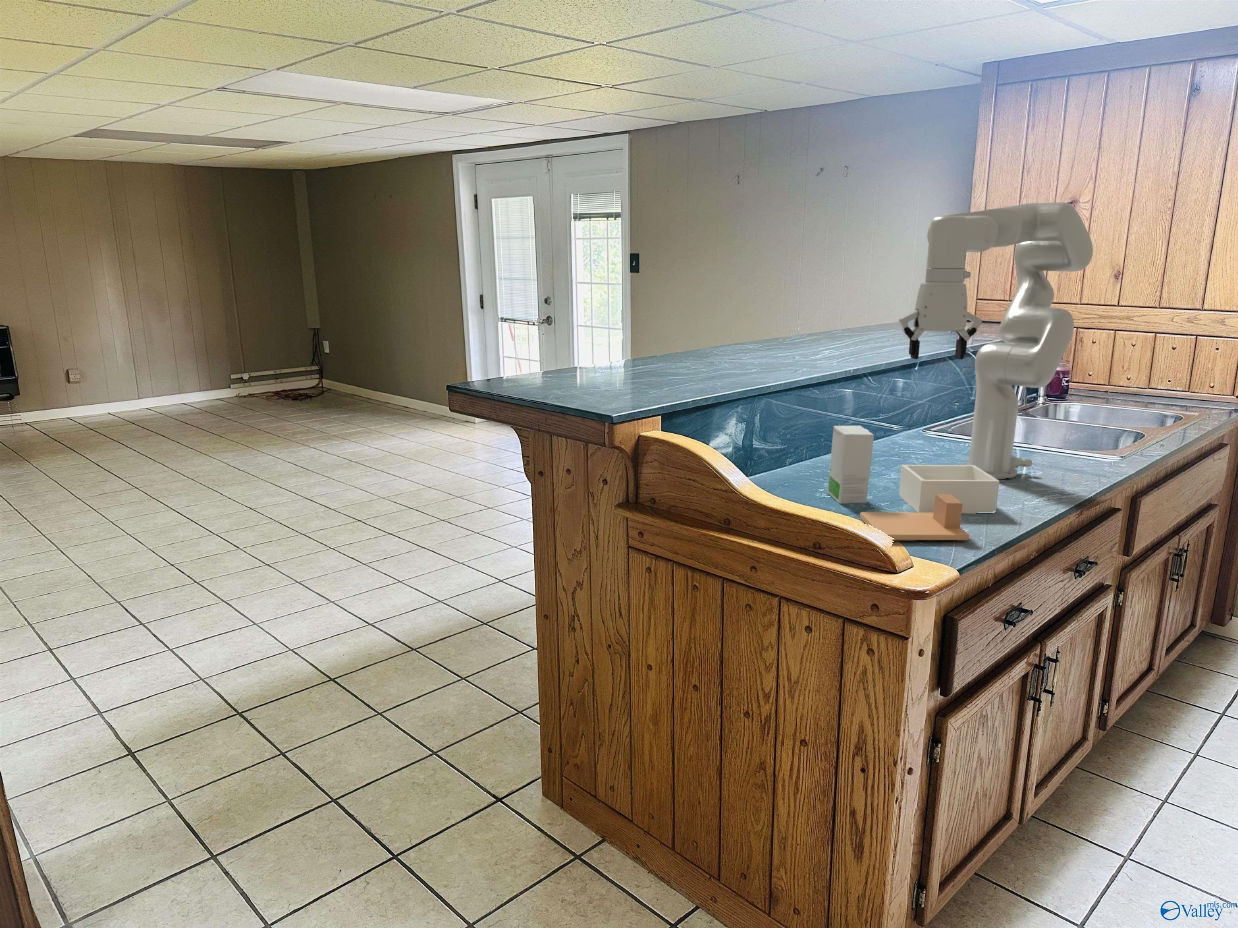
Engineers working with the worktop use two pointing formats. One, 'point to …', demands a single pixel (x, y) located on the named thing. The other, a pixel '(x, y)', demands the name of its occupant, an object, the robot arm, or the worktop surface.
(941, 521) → the lid
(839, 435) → the skincare box
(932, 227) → the robot arm
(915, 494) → the tub
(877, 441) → the worktop surface
